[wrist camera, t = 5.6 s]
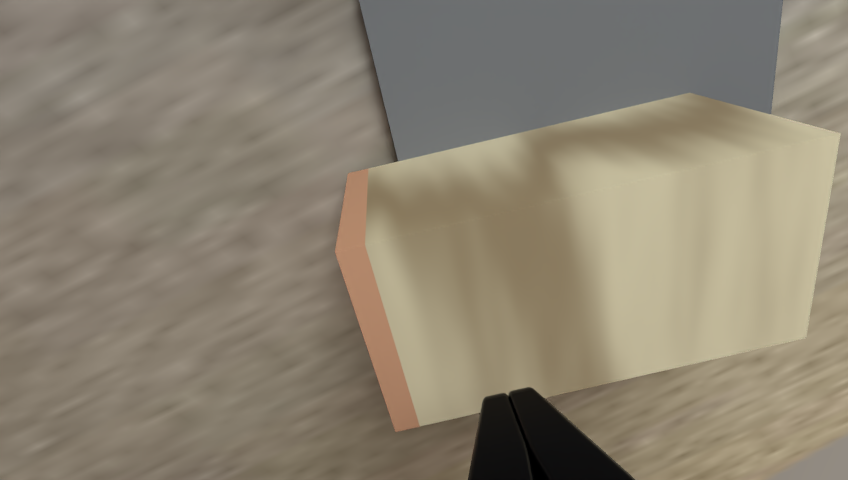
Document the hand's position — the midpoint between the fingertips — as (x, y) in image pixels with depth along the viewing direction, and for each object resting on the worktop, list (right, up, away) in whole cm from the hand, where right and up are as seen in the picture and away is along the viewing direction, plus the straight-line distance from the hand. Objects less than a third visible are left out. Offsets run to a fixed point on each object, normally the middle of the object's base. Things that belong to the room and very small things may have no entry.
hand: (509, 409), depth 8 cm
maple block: (-3, +2, +5) cm, 6 cm away
